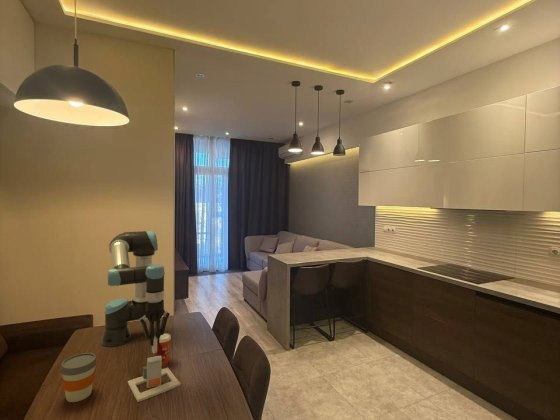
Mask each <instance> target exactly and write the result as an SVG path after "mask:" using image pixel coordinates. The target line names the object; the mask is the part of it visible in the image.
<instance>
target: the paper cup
mask: <svg viewBox="0 0 560 420" xmlns="http://www.w3.org/2000/svg"><path fill="white" fill-rule="evenodd" d="M171 339H172V337H171V334H170V333H164V334H163V335H161V336H160V338H159V344H157V353H155V356H161V357H162V367H165V366H167V365H168V364H169V363H170V362H169V360H170V349H171V348H170V347H171Z"/></svg>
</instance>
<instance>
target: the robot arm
mask: <svg viewBox="0 0 560 420" xmlns="http://www.w3.org/2000/svg"><path fill="white" fill-rule="evenodd" d="M108 245H109V246H108V250H109V253H110V254H111V268H110V269H108V270H107V286H109V287H119V286H126V285H133V284H134V285H135V288H134V289H135V290H134V293H135V294H134V295H133V296H132V298H131V300H129V299H127V298H122V297H121V298H118V299H113V300H112V301H111V300H110V302H108V303H107V304H105V309H104V315H105V317H104V332H103V334H102V337H101V340H100V341H101V345H102V346H103V347H108V348H109V347H111V348H112V347H117V346H118V347H119V346H122V345H125V344H126V343H128V342H130V341H131V339H132V334H131V331H130V328H129V325H128V324H129V323H128V322H132V321H140V323H141V326H142V330H143V334H144V337H145V338H146V339H147V340H149V346H150V347H151V352H152V354H156V353H157V344H159V338H160V336H161V335H163V334H165V330H166V326H167V322H168V319H169V317H170V315H171V314H170V312H169V311H166V310H165V299H164V298H165V275H166V274H165V266H164V265H163V264H154V263H152V262H153V261H152V259H153V258H152V257H153V256H154V255H155V253H156V252H157V251H158V250H159V247H158V239H157V234H156V233H155V232H154V231H150V230H148V231H147V230H143V231H124V232H121V233H119V234H117V235H116V236H114V237H113V238H112V240H111V241H110V243H109V244H108ZM129 253H132V255H133V256H134V257H135V266H133V267H131V265H130V257H129ZM147 320H148V321H149V330H148V325H147V323H146V321H147Z"/></svg>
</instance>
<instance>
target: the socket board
mask: <svg viewBox="0 0 560 420" xmlns="http://www.w3.org/2000/svg"><path fill="white" fill-rule="evenodd" d="M164 376H167V378H168V379H169V380H170V381H169V382H165V383H164V384H161V385H160V386H155V387H151V388H149V389H146V390H144V391H141V392H140V390H139V388H138V387H137V386H139V385H142V384H144V383H145V384H146V383H147V365H146V366H142V376H140V377H138V376H137V377H136V378H133V379H130V380H128V381H127V384H128V385H127V386H129V388H130V390H131V392H132V394H133V396H134V398H135V399H136V402H137V403H139V402H143V401H145V400H148V399H150V398H152V397H155V396H157V395H160V394H162V393H165V392H167V391H170V390H172V389H175V388H178V387H180V386H181V382H180V381H179V379H178V378H177V377H176V376H175V375H174V374H173V372H172V371H171V369H170V368H169V367H165V368H162V371H161V377H164Z"/></svg>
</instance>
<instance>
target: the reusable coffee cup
mask: <svg viewBox="0 0 560 420" xmlns="http://www.w3.org/2000/svg"><path fill="white" fill-rule="evenodd" d="M96 365H97V357H96V354H94V353H90V352H83V353H77V354H75V355H71V356H70V357H67V358H66V359H64V360H63V361H62V362H61V366H60V367H61V368H60V374H61V383H62V389H63V391H64V393H65V394H64V395H65V401H67V402H68V403H76V402H80V401H83V400H85V399H87V398H89V396H91V394H92V391H93V384H94V382H95V378H96V372H97V371H96V370H97V369H96Z"/></svg>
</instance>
